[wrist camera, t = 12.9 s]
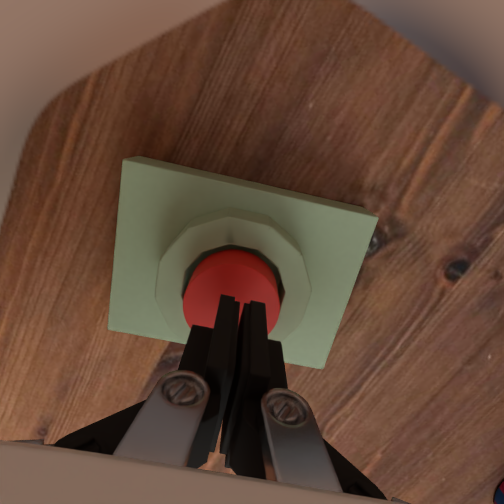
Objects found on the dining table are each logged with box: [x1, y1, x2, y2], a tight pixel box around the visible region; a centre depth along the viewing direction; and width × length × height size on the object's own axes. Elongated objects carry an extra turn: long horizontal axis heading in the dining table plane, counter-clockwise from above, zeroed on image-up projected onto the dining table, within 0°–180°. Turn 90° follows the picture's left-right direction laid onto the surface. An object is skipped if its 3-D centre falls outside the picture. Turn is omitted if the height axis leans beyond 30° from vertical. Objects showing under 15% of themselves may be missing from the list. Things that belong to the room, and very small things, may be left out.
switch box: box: [107, 156, 378, 369], centre depth 17 cm, size 12×9×4 cm
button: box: [183, 249, 280, 334], centre depth 14 cm, size 4×4×2 cm
